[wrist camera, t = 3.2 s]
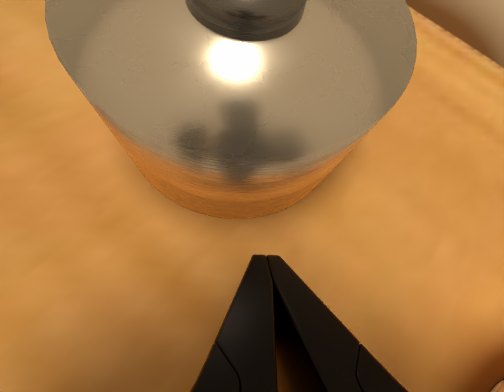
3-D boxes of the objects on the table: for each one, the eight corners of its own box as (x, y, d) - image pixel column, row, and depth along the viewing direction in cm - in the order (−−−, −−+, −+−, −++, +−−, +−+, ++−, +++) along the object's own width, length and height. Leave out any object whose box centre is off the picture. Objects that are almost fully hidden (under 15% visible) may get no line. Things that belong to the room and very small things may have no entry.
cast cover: (372, 120, 19) (496, -15, 10) (244, 271, 14) (275, 253, 6) (231, 16, 21) (236, -167, 12) (78, 116, 16) (-84, -69, 8)
